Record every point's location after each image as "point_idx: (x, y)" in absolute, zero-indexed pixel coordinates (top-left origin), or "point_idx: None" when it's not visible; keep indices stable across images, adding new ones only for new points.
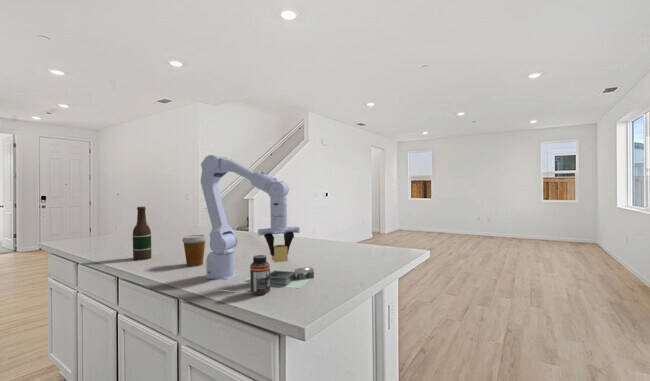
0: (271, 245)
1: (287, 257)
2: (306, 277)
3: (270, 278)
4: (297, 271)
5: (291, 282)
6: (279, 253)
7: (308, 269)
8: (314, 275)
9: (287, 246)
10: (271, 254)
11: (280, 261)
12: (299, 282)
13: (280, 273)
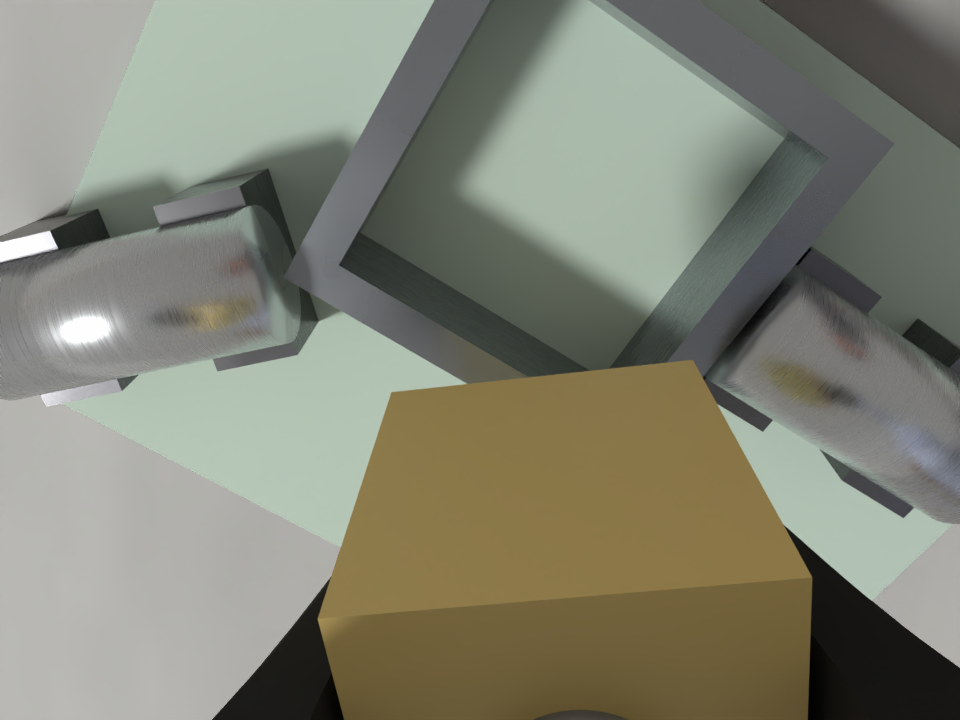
0: (957, 702)
1: (380, 428)
2: None
3: (777, 61)
4: (244, 238)
5: None
6: (600, 475)
7: (35, 281)
8: None
9: (310, 687)
10: None
11: (559, 378)
12: (268, 33)
13: (534, 365)
